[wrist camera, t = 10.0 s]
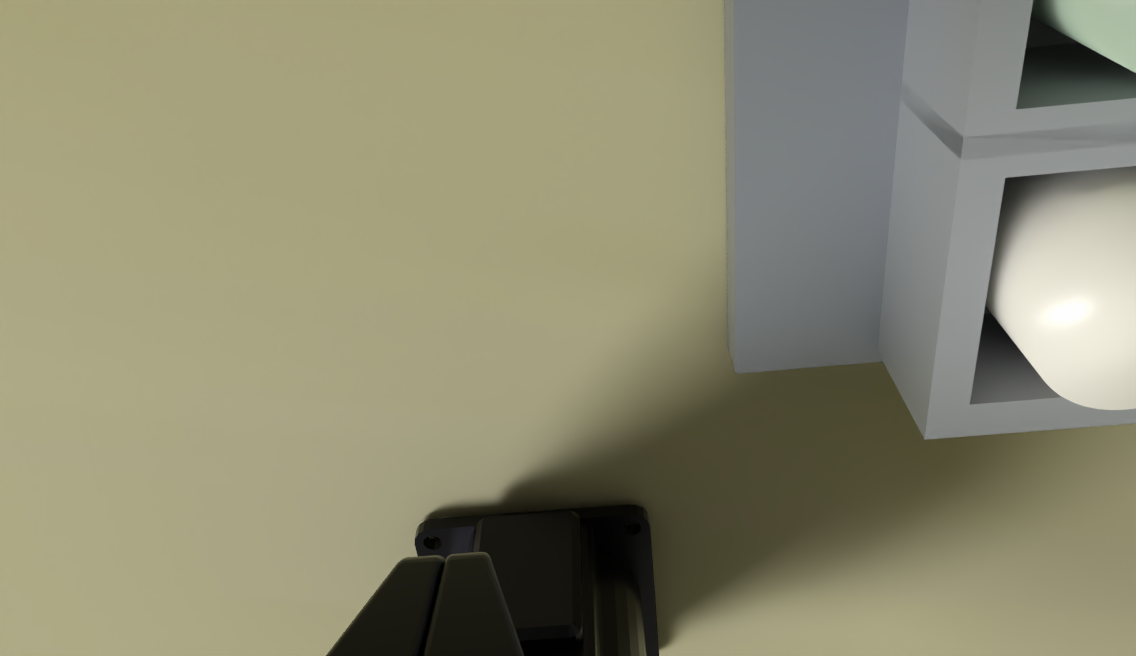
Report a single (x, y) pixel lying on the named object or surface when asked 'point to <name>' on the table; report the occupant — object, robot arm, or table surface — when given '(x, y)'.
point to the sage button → (1094, 25)
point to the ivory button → (1071, 281)
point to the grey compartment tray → (902, 191)
